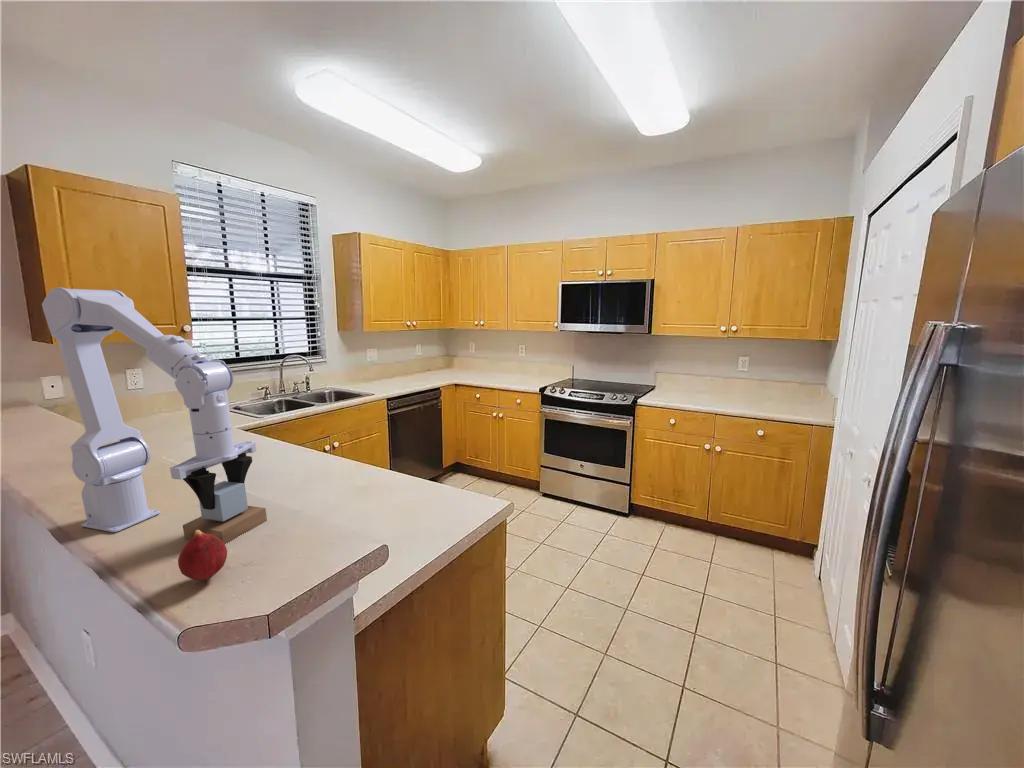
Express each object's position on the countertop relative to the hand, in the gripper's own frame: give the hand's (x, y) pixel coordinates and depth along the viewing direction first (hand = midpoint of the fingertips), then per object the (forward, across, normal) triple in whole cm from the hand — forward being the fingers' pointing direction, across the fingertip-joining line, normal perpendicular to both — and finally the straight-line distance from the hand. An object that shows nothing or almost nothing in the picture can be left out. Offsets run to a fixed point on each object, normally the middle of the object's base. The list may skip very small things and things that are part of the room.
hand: (223, 501), depth 77 cm
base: (+6, 0, 0) cm, 6 cm away
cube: (+2, 0, 0) cm, 2 cm away
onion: (+6, -12, -11) cm, 18 cm away
